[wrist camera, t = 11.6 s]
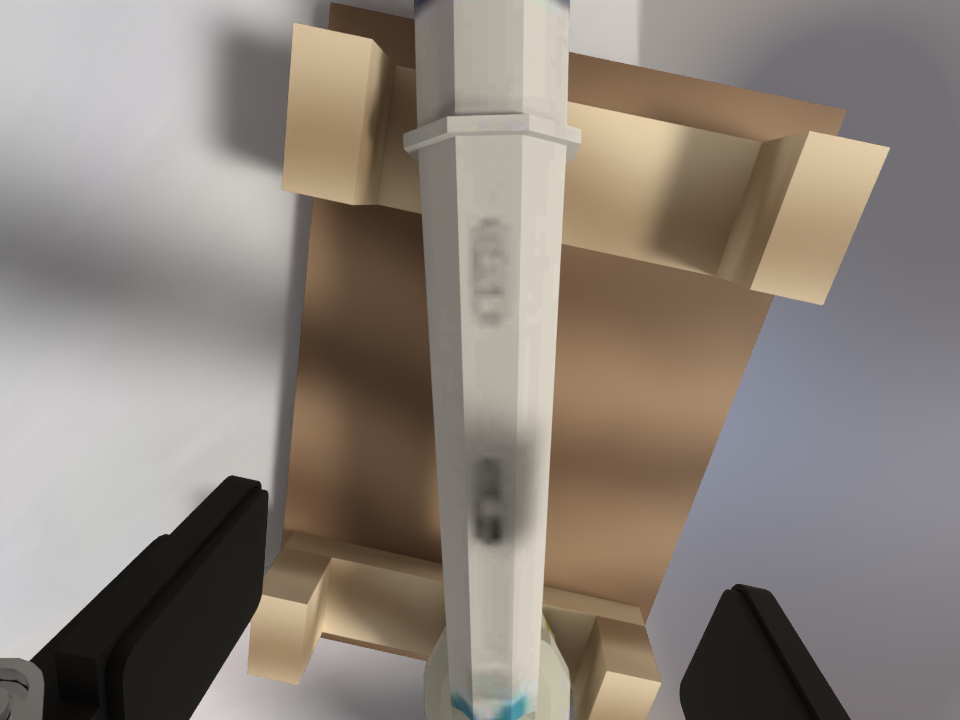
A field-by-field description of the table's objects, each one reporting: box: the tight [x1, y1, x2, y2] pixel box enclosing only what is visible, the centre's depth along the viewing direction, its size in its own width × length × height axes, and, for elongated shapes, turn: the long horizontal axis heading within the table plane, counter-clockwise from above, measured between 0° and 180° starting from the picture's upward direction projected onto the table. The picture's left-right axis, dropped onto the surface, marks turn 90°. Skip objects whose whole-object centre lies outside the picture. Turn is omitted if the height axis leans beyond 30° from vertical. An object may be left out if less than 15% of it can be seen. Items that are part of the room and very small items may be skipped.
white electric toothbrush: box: [403, 0, 581, 720], centre depth 16 cm, size 5×7×25 cm
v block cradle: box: [247, 2, 890, 720], centre depth 18 cm, size 25×16×4 cm, turn 169°
